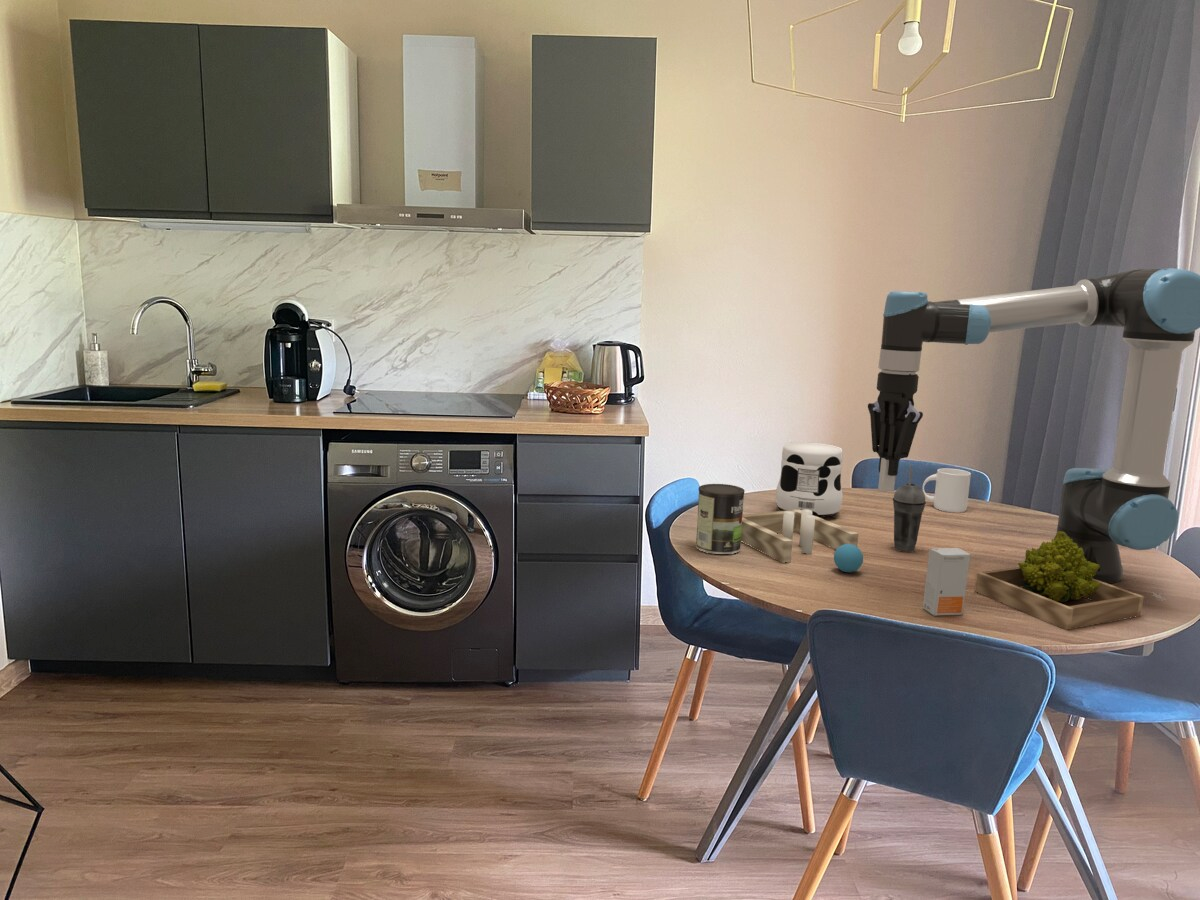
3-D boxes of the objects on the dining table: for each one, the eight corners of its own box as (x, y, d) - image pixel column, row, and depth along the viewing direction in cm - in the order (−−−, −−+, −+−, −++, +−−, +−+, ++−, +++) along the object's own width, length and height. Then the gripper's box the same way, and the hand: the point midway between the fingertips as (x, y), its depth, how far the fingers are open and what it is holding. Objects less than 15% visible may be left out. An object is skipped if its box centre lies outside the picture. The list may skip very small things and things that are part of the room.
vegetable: (1006, 586, 168) (1037, 517, 170) (1001, 599, 182) (1030, 534, 184) (1089, 621, 161) (1120, 548, 163) (1077, 631, 175) (1106, 564, 177)
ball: (867, 574, 185) (870, 547, 183) (845, 577, 182) (847, 550, 181) (849, 565, 190) (851, 539, 189) (826, 568, 188) (829, 541, 186)
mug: (922, 502, 250) (926, 465, 248) (968, 508, 245) (972, 470, 243) (918, 508, 243) (922, 470, 241) (964, 514, 237) (969, 476, 235)
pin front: (814, 553, 198) (817, 517, 196) (805, 554, 197) (808, 518, 195) (807, 550, 200) (810, 514, 199) (799, 551, 199) (802, 515, 198)
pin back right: (811, 547, 203) (814, 511, 201) (803, 548, 202) (806, 512, 200) (805, 544, 205) (808, 509, 203) (796, 545, 204) (799, 509, 202)
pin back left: (793, 549, 201) (796, 513, 199) (785, 550, 200) (787, 514, 198) (787, 546, 203) (790, 510, 201) (779, 547, 202) (781, 511, 200)
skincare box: (934, 616, 162) (941, 554, 160) (922, 608, 166) (928, 547, 164) (964, 615, 163) (971, 554, 161) (951, 607, 167) (958, 547, 165)
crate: (1140, 616, 165) (1143, 596, 165) (1066, 630, 157) (1069, 609, 157) (1045, 580, 184) (1047, 562, 184) (974, 591, 176) (977, 572, 176)
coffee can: (747, 546, 201) (751, 487, 199) (731, 558, 193) (734, 496, 190) (705, 539, 206) (709, 481, 204) (688, 550, 197) (691, 489, 195)
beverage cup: (926, 549, 204) (935, 465, 200) (912, 555, 199) (921, 469, 195) (896, 542, 209) (904, 460, 205) (882, 548, 204) (890, 464, 200)
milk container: (816, 503, 244) (821, 440, 241) (854, 519, 228) (860, 452, 225) (762, 507, 238) (766, 442, 235) (797, 524, 222) (803, 454, 219)
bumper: (856, 554, 198) (858, 533, 197) (783, 563, 190) (784, 541, 189) (797, 528, 218) (799, 509, 217) (729, 535, 210) (730, 515, 209)
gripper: (938, 375, 165) (924, 497, 169) (890, 368, 177) (878, 482, 181) (907, 375, 162) (894, 499, 166) (860, 368, 174) (849, 484, 178)
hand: (885, 490), depth 174 cm, fingers closed
